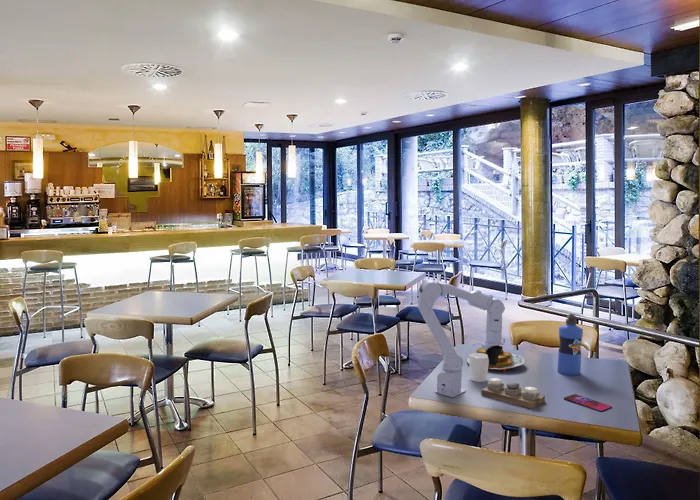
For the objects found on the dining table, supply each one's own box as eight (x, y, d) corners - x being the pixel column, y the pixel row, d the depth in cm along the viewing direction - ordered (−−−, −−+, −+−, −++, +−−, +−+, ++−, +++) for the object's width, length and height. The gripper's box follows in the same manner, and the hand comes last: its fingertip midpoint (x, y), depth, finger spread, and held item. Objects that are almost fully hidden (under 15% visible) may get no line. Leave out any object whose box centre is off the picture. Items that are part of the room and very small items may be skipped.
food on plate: (517, 377, 231) (517, 362, 230) (459, 368, 243) (459, 353, 242) (530, 361, 253) (530, 347, 252) (476, 354, 265) (476, 340, 264)
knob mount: (532, 408, 196) (533, 393, 195) (481, 394, 209) (482, 380, 209) (544, 401, 203) (545, 386, 202) (494, 388, 216) (495, 374, 216)
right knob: (533, 400, 198) (534, 391, 198) (522, 397, 201) (522, 388, 201) (539, 397, 201) (539, 388, 201) (527, 394, 204) (528, 385, 204)
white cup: (466, 380, 225) (466, 356, 224) (471, 375, 232) (472, 351, 231) (485, 383, 222) (486, 359, 221) (490, 378, 228) (491, 354, 228)
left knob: (498, 391, 207) (498, 382, 207) (487, 388, 210) (487, 380, 210) (503, 388, 211) (504, 379, 210) (493, 385, 214) (493, 377, 213)
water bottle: (585, 374, 234) (588, 315, 232) (568, 377, 231) (571, 317, 228) (569, 368, 243) (572, 311, 240) (552, 370, 239) (554, 313, 237)
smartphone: (600, 411, 193) (562, 397, 205) (600, 413, 193) (562, 400, 205) (613, 406, 197) (575, 393, 210) (613, 409, 197) (574, 395, 210)
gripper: (494, 334, 203) (492, 371, 204) (512, 328, 213) (511, 362, 214) (476, 331, 207) (475, 367, 209) (496, 325, 218) (494, 359, 219)
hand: (492, 364), depth 212 cm, fingers closed
